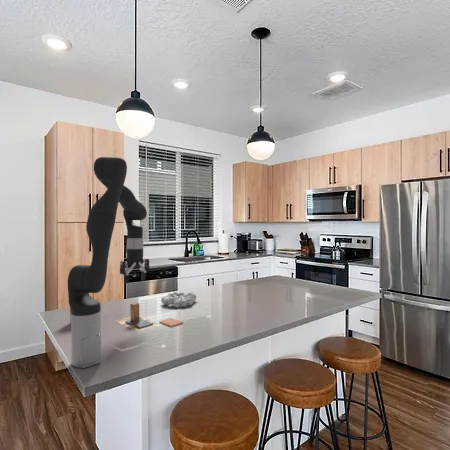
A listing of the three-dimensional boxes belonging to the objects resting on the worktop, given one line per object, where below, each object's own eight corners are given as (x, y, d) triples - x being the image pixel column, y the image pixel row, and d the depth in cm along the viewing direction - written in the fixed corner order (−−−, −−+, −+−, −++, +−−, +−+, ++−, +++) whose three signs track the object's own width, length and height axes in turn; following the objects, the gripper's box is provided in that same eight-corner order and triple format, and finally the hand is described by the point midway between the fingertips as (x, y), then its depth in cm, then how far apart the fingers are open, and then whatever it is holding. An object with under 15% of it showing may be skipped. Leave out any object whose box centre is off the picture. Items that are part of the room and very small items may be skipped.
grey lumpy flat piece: (158, 300, 192) (158, 290, 192) (191, 297, 199) (192, 288, 199) (164, 310, 171) (164, 300, 171) (201, 307, 179) (201, 297, 179)
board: (159, 325, 146) (159, 324, 146) (136, 332, 137) (136, 331, 137) (136, 316, 159) (136, 315, 159) (114, 322, 151) (114, 320, 151)
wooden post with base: (125, 322, 148) (125, 304, 148) (138, 319, 153) (138, 301, 153) (139, 328, 140) (139, 309, 140) (152, 324, 145) (152, 305, 145)
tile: (171, 321, 153) (183, 325, 147) (159, 324, 148) (171, 329, 142) (171, 317, 153) (183, 321, 147) (159, 321, 148) (171, 325, 142)
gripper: (125, 249, 141) (125, 285, 141) (152, 247, 151) (152, 281, 151) (117, 248, 146) (117, 283, 146) (143, 246, 156) (143, 279, 156)
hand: (135, 281), depth 149 cm, fingers open, 8 cm apart
